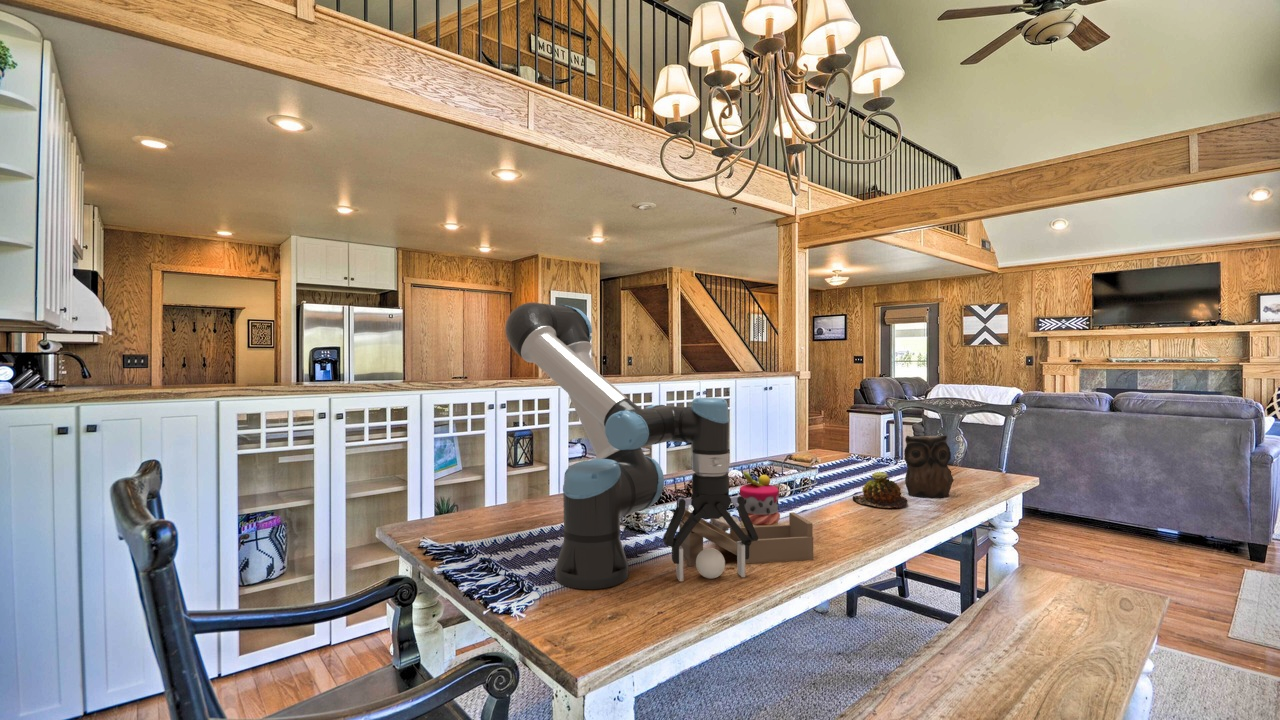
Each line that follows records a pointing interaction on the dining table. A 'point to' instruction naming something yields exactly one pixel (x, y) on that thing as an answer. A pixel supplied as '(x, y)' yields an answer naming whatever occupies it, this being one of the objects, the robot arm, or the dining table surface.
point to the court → (781, 541)
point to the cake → (760, 501)
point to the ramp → (695, 539)
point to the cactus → (881, 493)
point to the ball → (710, 563)
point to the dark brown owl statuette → (927, 466)
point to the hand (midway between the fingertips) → (710, 577)
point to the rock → (723, 522)
